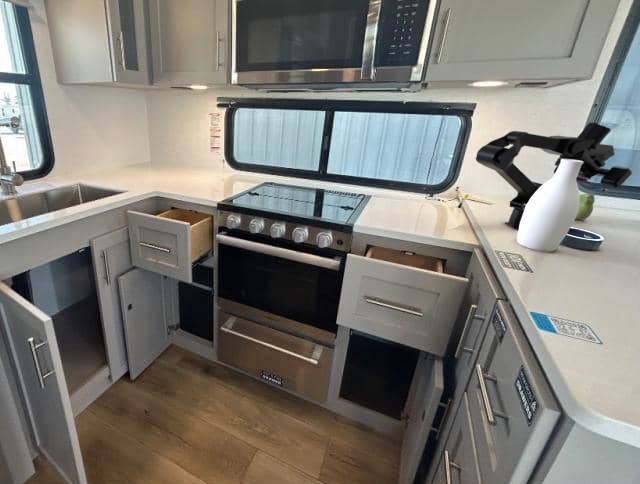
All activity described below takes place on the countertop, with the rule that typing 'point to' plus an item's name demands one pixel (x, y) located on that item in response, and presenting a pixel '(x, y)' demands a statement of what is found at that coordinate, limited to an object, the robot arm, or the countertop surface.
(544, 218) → the bottle
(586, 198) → the pear
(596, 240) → the holder
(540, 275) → the countertop surface
